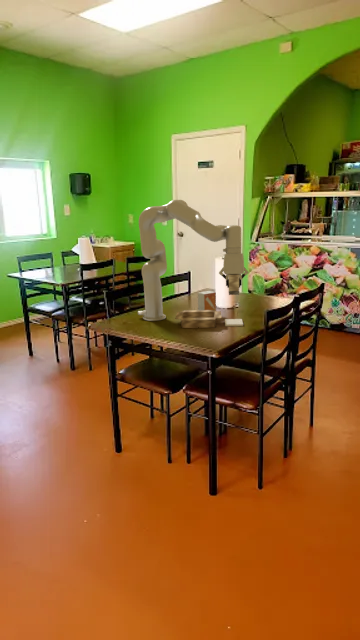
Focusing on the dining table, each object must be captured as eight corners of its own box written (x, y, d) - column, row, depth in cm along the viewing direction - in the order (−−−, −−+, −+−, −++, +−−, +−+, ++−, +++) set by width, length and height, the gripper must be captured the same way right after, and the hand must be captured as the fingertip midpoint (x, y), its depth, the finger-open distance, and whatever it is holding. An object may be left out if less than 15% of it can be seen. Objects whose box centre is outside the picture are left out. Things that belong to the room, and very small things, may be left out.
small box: (204, 317, 239) (204, 294, 236) (197, 315, 244) (197, 292, 241) (216, 315, 243) (216, 292, 240) (209, 312, 248) (209, 290, 245)
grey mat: (225, 326, 221) (225, 324, 220) (224, 321, 230) (224, 319, 230) (243, 326, 220) (243, 324, 220) (241, 320, 230) (241, 318, 229)
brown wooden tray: (175, 329, 218) (174, 319, 217) (178, 319, 237) (177, 310, 235) (221, 328, 216) (221, 319, 215) (220, 318, 235) (220, 309, 234)
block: (229, 294, 218) (228, 275, 216) (228, 292, 224) (228, 273, 221) (239, 294, 218) (239, 274, 215) (238, 292, 224) (238, 272, 221)
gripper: (216, 252, 213) (216, 289, 217) (251, 251, 211) (251, 288, 216) (216, 250, 220) (216, 286, 224) (250, 249, 218) (250, 285, 223)
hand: (233, 286), depth 220 cm, fingers closed on block, 5 cm apart
